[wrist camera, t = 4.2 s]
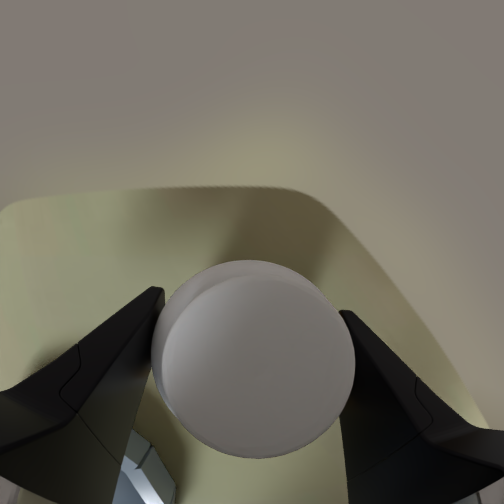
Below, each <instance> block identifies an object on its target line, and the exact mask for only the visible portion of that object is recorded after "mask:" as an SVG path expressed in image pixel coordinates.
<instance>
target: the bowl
mask: <svg viewBox="0 0 504 504" xmlns="http://www.w3.org/2000/svg"><path fill="white" fill-rule="evenodd" d="M150 445H151V443H149V442H148V441H147V440H146V439H144V438H143V437H142V436H140V435H139V434H138V433H137V432H135V431H134V430H133V429H132V430H131V434H130V437H129V441H128V444H127V448H126V451H125V455H124V458H123V462H122V465H121V470H120V474H119V478H118V482H117V486H116V490H115V494H114V498H113V502H112V504H175V495H176V486H175V483H174V481H173V479H172V478H171V476H170V474H169V473H168V471H167V470H166V468H165V466H164V464H163V463H162V461H161V459H160V457H159V456H158V454H157V452H156V450H155V449H154V447H153V446H152V447H150Z"/></svg>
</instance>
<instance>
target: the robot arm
mask: <svg viewBox="0 0 504 504" xmlns="http://www.w3.org/2000/svg"><path fill="white" fill-rule="evenodd" d="M164 306H165V292H164V289H163V288H161V287H155V286H151V287H149V288H148V289H147V290H145V291H144V292H143V293H141V294H140V295H139V296H137V297H136V298H135V299H133V300H132V301H131V302H129V303H128V304H127V305H125V306H124V307H123V308H121V309H120V310H119V311H118V312H116V313H115V314H114V315H112V316H111V317H110V318H108V319H107V320H106V321H104V322H103V323H102V324H101V325H99V326H98V327H97V328H95V329H94V330H93V331H92V332H90V333H89V334H88V335H86V336H85V337H84V338H83V339H81V340H80V341H79V342H78V344H75V345H74V346H72V347H71V348H70V349H69V350H67V351H66V352H65V353H63V354H62V355H61V356H59V357H58V358H57V359H55V360H54V361H52V362H51V363H49V364H48V365H46V366H45V367H43V368H42V369H40V370H39V371H37V372H36V373H34V374H33V375H31V376H29V377H28V378H26V379H25V380H23V381H22V382H20V383H19V384H17V385H15V386H14V387H12V388H10V389H7V390H4V391H1V392H0V504H112V502H113V498H114V494H115V490H116V486H117V482H118V478H119V474H120V470H121V465H122V462H123V458H124V455H125V451H126V448H127V444H128V441H129V437H130V434H131V430H132V427H133V423H134V420H135V417H136V414H137V410H138V407H139V404H140V401H141V398H142V394H143V391H144V388H145V385H146V382H147V379H148V376H149V373H150V370H151V367H152V366H151V344H152V337H153V332H154V328H155V325H156V322H157V320H158V317H159V315H160V313H161V311H162V310H163V308H164ZM338 313H339V314H340V315H341V317H342V318H343V320H344V322H345V324H346V326H347V328H348V330H349V333H350V336H351V339H352V343H353V347H354V354H355V374H354V381H353V386H352V389H351V392H350V395H349V397H348V400H347V402H346V404H345V406H344V408H343V410H342V411H341V413H340V415H339V418H340V425H341V433H342V441H343V449H344V458H345V467H346V477H347V481H348V482H347V489H348V501H349V504H504V431H501V430H492V429H484V428H479V427H476V426H473V425H471V424H470V423H468V422H467V421H465V420H464V419H463V418H462V417H461V416H460V415H459V414H457V413H456V412H455V411H454V410H453V409H452V408H451V407H449V406H448V405H447V404H446V403H445V402H444V401H443V400H441V399H440V398H439V397H438V396H437V395H436V394H435V393H434V392H433V391H432V390H431V389H430V388H429V387H428V386H427V385H426V384H425V383H424V382H423V381H422V380H421V379H420V378H419V377H416V374H415V373H414V372H413V371H412V370H411V369H410V368H409V367H408V366H407V365H406V364H405V363H404V362H403V361H402V360H401V359H400V358H399V357H398V356H397V355H396V354H395V353H394V352H393V351H392V350H391V349H390V348H389V347H388V346H387V345H386V344H385V343H384V342H383V341H382V340H381V339H380V338H379V337H378V336H377V335H376V334H375V333H374V332H373V331H372V330H371V329H370V328H369V327H368V326H367V325H366V324H365V323H364V322H363V321H362V320H361V319H360V318H359V317H358V316H357V315H356V314H354V313H353V312H352V311H350V310H340V311H339V312H338Z"/></svg>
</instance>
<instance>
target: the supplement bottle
mask: <svg viewBox="0 0 504 504" xmlns="http://www.w3.org/2000/svg"><path fill="white" fill-rule="evenodd" d="M151 366H152V371H153V376H154V379H155V383H156V386H157V388H158V390H159V393H160V395H161V397H162V398H163V400H164V402H165V403H166V405H167V406H168V408H169V409H170V410H171V412H172V413H173V414H174V415H175V416H176V417H177V419H178V420H179V421H180V422H181V424H182V425H183V426H184V427H185V428H186V429H187V430H188V431H189V432H190V433H191V434H192V435H193V436H194V437H195V438H197V439H198V440H199V441H201V442H202V443H204V444H205V445H207V446H209V447H211V448H213V449H215V450H217V451H219V452H222V453H225V454H228V455H232V456H237V457H242V458H255V459H262V458H271V457H277V456H281V455H285V454H288V453H291V452H293V451H296V450H298V449H300V448H302V447H304V446H306V445H308V444H309V443H311V442H313V441H314V440H315V439H317V438H318V437H319V436H320V435H322V434H323V433H324V432H325V431H326V430H327V429H328V428H329V427H330V426H331V425H332V424H333V423H334V421H335V420H336V419H337V417H338V416H339V415H340V413H341V411H342V410H343V408H344V406H345V404H346V402H347V400H348V397H349V395H350V392H351V389H352V386H353V381H354V374H355V354H354V347H353V343H352V339H351V336H350V333H349V330H348V328H347V326H346V324H345V322H344V320H343V318H342V317H341V315H340V314H339V313H338V311H337V310H336V309H335V308H334V306H333V305H332V304H331V303H330V302H329V301H328V299H327V298H326V297H325V296H324V294H323V293H322V292H321V291H320V290H319V289H318V288H317V287H316V286H315V285H314V284H313V283H312V282H310V281H309V280H308V279H306V278H305V277H303V276H302V275H300V274H299V273H297V272H295V271H293V270H291V269H289V268H286V267H284V266H281V265H278V264H275V263H271V262H266V261H259V260H238V261H230V262H225V263H222V264H218V265H215V266H212V267H210V268H207V269H205V270H203V271H201V272H200V273H198V274H196V275H194V276H193V277H192V278H190V279H189V280H187V281H186V282H185V283H184V284H183V285H182V286H180V287H179V288H178V289H177V290H176V291H175V292H174V294H173V295H172V296H171V297H170V299H169V300H168V302H167V303H166V305H165V306H164V308H163V310H162V311H161V313H160V315H159V317H158V320H157V322H156V325H155V328H154V332H153V337H152V344H151Z"/></svg>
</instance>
